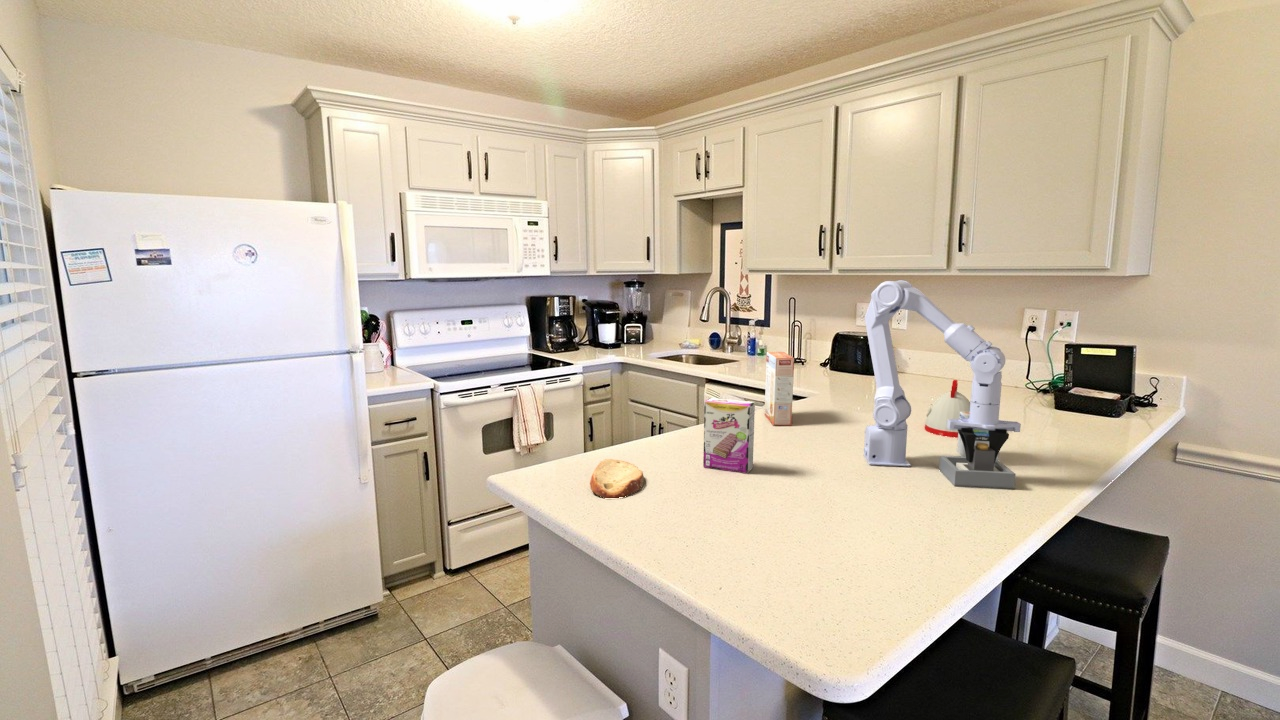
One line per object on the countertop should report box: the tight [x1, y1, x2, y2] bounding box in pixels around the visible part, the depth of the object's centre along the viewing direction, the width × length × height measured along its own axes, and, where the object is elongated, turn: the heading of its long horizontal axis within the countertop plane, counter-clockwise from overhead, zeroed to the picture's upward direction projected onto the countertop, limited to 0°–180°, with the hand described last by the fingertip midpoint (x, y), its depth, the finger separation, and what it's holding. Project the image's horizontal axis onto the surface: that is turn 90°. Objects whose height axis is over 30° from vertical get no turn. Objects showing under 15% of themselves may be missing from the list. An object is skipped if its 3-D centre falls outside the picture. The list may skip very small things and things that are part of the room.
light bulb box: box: [956, 412, 1000, 461], centre depth 153 cm, size 11×7×11 cm, turn 169°
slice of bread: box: [589, 458, 645, 499], centre depth 139 cm, size 18×18×4 cm
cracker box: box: [764, 351, 795, 427], centre depth 191 cm, size 14×6×21 cm, turn 179°
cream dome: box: [924, 379, 971, 439], centre depth 178 cm, size 14×14×15 cm
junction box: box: [938, 455, 1016, 490], centre depth 138 cm, size 12×11×4 cm
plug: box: [968, 442, 995, 471], centre depth 138 cm, size 4×4×6 cm
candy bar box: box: [702, 397, 756, 474], centre depth 146 cm, size 11×5×16 cm, turn 65°
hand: (980, 461), depth 138 cm, fingers closed on plug, 4 cm apart
